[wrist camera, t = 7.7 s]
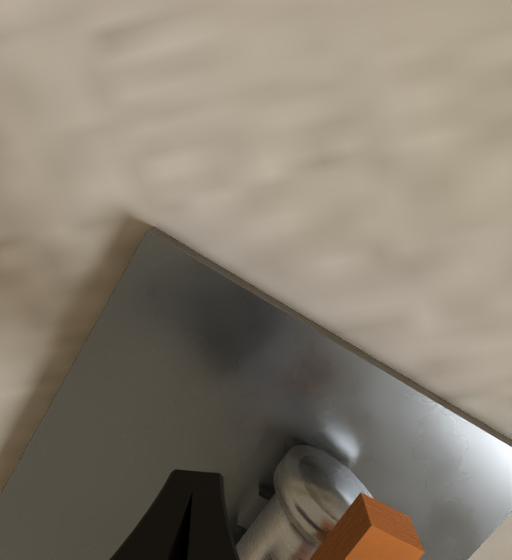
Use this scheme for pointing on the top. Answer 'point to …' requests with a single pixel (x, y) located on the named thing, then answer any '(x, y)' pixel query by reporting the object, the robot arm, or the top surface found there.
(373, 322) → the top surface
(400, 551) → the lever
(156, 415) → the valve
